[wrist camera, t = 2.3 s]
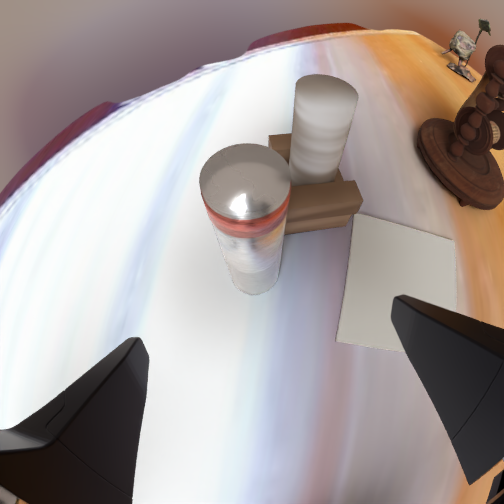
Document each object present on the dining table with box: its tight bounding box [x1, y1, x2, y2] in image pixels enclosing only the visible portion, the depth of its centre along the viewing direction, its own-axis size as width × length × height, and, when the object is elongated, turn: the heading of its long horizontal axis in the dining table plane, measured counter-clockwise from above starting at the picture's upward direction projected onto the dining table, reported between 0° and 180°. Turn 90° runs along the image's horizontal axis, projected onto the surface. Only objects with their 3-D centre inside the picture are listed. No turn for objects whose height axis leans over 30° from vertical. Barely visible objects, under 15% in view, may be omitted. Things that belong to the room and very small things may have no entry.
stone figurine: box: [441, 19, 491, 82], centre depth 33 cm, size 8×11×20 cm
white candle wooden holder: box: [269, 74, 363, 235], centre depth 20 cm, size 8×6×12 cm
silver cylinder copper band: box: [199, 144, 291, 295], centre depth 17 cm, size 4×4×12 cm
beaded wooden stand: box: [417, 45, 504, 210], centre depth 18 cm, size 15×15×20 cm
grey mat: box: [335, 213, 456, 353], centre depth 22 cm, size 12×12×1 cm
